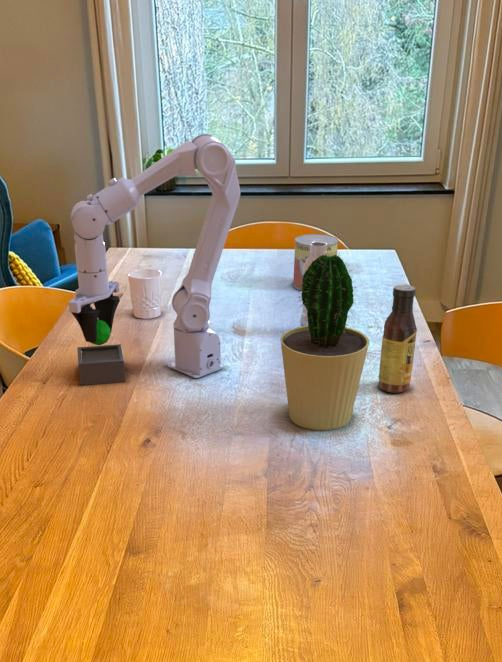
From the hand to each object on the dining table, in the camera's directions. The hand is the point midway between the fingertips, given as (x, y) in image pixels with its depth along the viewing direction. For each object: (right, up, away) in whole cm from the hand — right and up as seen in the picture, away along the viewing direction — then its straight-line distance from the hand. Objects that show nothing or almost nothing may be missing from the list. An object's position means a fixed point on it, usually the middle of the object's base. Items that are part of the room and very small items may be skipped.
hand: (98, 337), depth 159 cm
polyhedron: (0, -1, +1) cm, 2 cm away
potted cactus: (+43, -18, -12) cm, 48 cm away
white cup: (+6, +13, +35) cm, 38 cm away
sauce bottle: (+59, -11, -2) cm, 60 cm away
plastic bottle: (+46, +6, +24) cm, 52 cm away
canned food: (+49, +25, +53) cm, 77 cm away
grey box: (0, -7, +4) cm, 8 cm away
